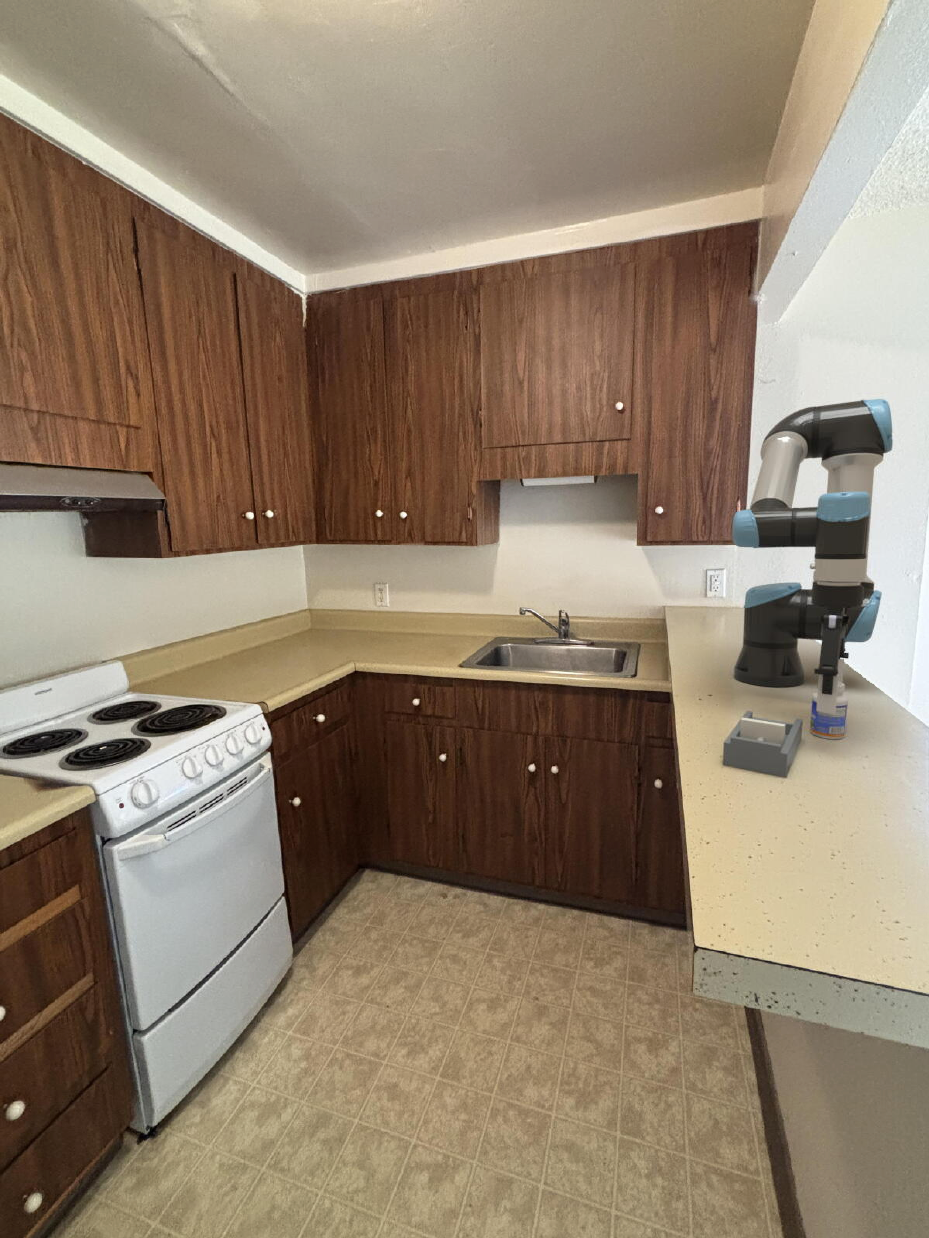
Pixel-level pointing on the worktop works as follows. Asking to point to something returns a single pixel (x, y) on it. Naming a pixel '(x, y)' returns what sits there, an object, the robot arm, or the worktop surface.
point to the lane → (763, 749)
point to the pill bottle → (830, 717)
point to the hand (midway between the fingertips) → (829, 701)
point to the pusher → (763, 731)
